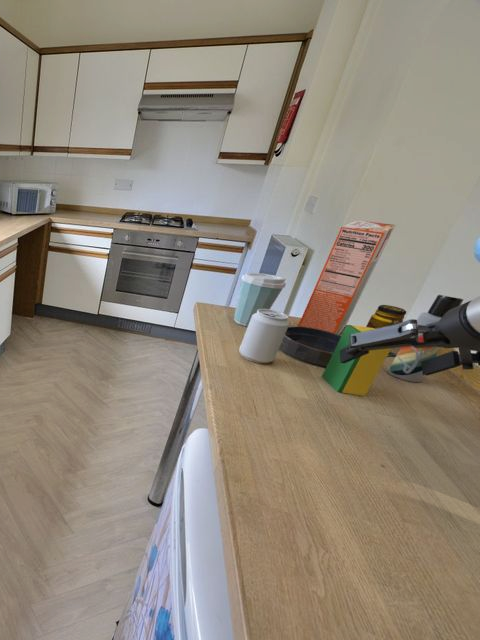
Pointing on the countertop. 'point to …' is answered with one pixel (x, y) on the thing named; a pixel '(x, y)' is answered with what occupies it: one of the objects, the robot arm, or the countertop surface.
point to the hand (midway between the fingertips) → (382, 362)
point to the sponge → (354, 366)
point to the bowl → (310, 344)
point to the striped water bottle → (410, 357)
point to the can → (264, 335)
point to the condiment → (386, 318)
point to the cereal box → (345, 275)
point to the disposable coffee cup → (256, 295)
